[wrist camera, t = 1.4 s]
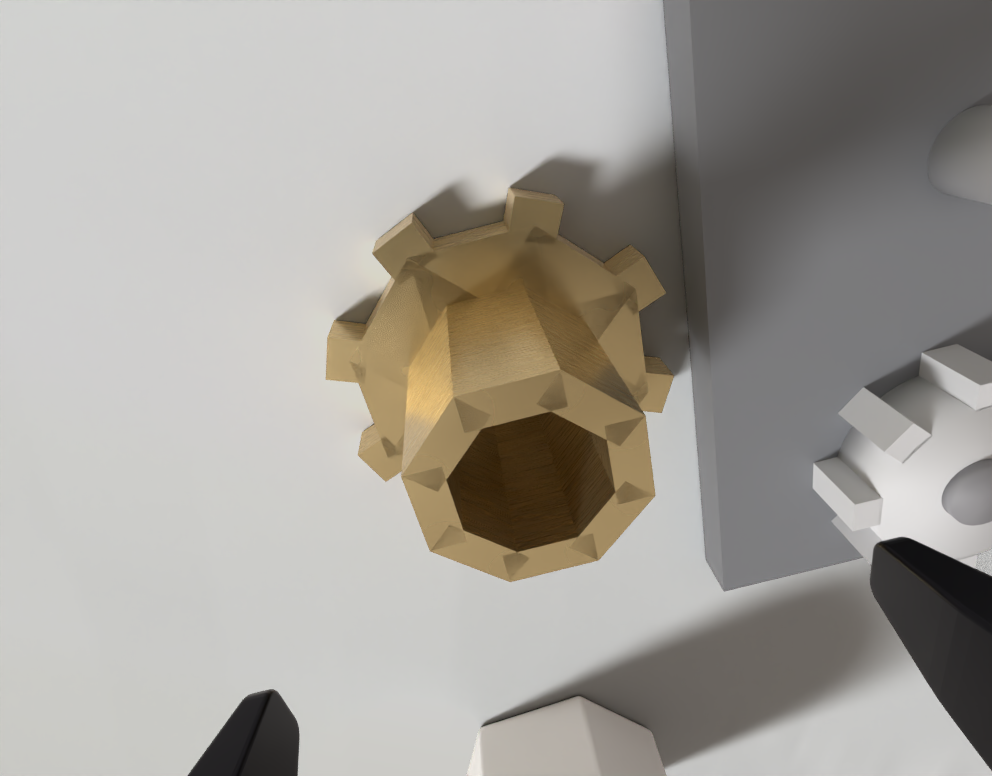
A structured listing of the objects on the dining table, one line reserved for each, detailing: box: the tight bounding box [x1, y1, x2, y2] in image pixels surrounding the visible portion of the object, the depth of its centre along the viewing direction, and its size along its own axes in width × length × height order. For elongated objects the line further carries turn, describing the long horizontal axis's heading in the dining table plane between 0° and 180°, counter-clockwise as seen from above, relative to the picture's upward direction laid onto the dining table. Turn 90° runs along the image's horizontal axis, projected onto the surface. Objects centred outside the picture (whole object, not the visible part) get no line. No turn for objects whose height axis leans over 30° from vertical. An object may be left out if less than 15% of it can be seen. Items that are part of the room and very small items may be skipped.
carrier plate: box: [663, 0, 992, 591], centre depth 15 cm, size 13×18×6 cm
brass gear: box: [326, 188, 674, 582], centre depth 14 cm, size 9×9×6 cm
